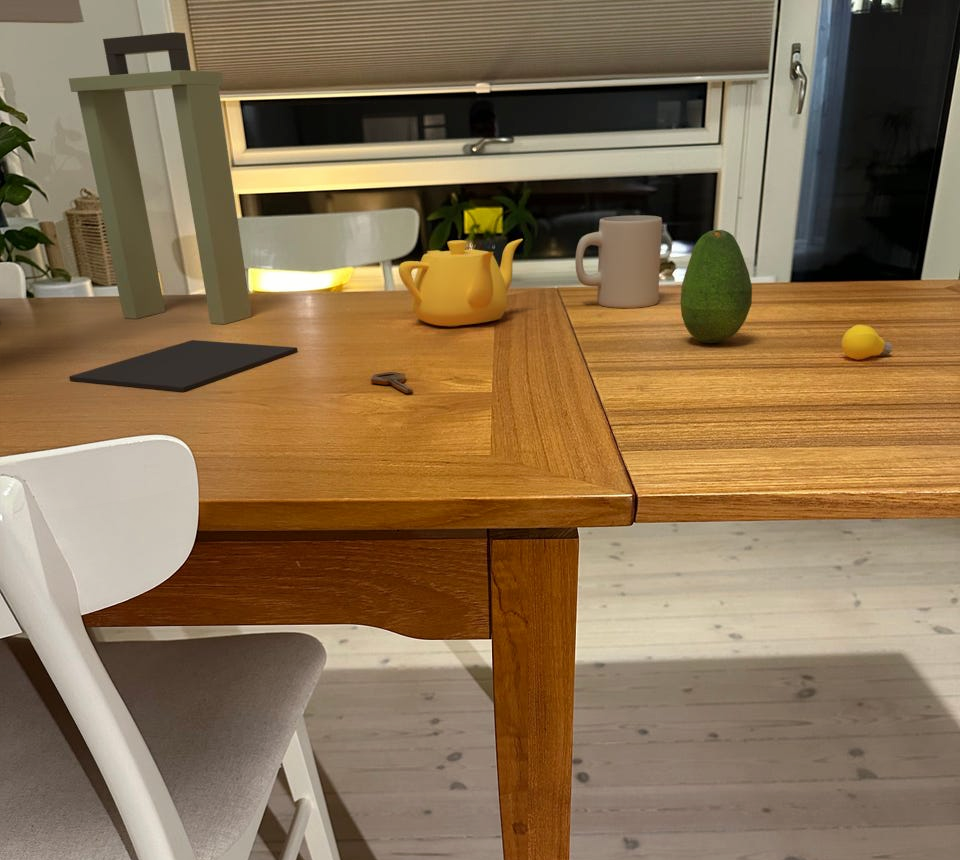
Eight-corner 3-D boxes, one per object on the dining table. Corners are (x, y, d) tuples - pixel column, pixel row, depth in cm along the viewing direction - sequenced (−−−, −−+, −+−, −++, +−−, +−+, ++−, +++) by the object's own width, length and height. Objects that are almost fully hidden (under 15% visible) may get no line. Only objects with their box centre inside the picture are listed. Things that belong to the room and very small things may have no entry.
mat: (69, 380, 104) (68, 376, 104) (193, 344, 120) (192, 339, 119) (183, 392, 98) (182, 387, 97) (297, 351, 113) (297, 347, 113)
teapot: (494, 332, 119) (492, 247, 115) (395, 329, 123) (389, 246, 119) (524, 312, 131) (523, 234, 126) (432, 310, 135) (428, 234, 130)
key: (393, 395, 93) (393, 391, 92) (365, 379, 99) (365, 375, 99) (429, 390, 94) (429, 386, 94) (399, 374, 100) (398, 370, 100)
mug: (644, 296, 139) (648, 214, 134) (668, 305, 132) (672, 219, 126) (565, 302, 137) (566, 219, 131) (585, 312, 129) (587, 224, 124)
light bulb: (832, 358, 100) (837, 323, 100) (875, 368, 103) (881, 335, 102) (855, 354, 97) (861, 318, 97) (899, 365, 99) (905, 330, 99)
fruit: (662, 342, 111) (668, 230, 105) (712, 333, 114) (721, 224, 108) (711, 353, 105) (721, 235, 99) (762, 343, 108) (774, 228, 102)
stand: (118, 319, 137) (60, 39, 121) (157, 309, 144) (106, 42, 127) (220, 325, 130) (172, 28, 114) (256, 315, 136) (216, 32, 120)
